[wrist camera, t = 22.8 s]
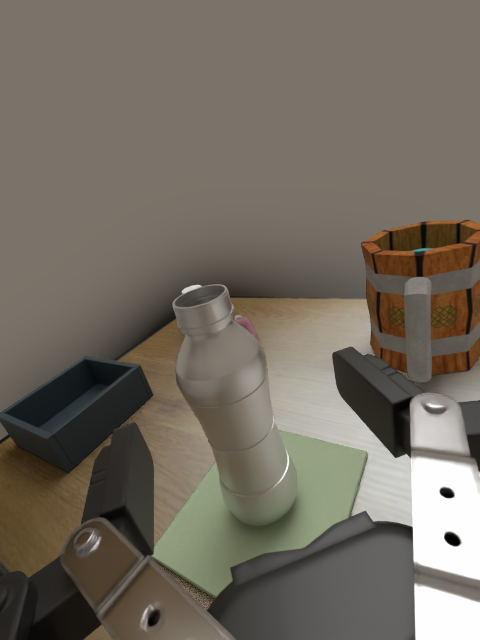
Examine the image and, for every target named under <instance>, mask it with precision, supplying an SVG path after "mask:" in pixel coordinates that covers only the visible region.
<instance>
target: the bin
mask: <svg viewBox="0 0 480 640" xmlns="http://www.w3.org/2000/svg"><path fill="white" fill-rule="evenodd" d="M152 396H153V393H152V391H151V388H150V386H149V384H148V382H147V379H146V377H145V375H144V373H143V370H142V368H141V366H140V365H137V364H131V363H125V362H119V361H113V360H107V359H101V358H95V357H88V356H86V357H84V358H83V359H81V360H80V361H78V362H77V363H75V364H74V365H72V366H70V367H69V368H67V369H66V370H64V371H63V372H61V373H60V374H58V375H57V376H56V377H54V378H52V379H51V380H50V381H48V382H46V383H45V384H43V385H42V386H40V387H39V388H37V389H36V390H34V391H33V392H31V393H30V394H28V395H27V396H25V397H23V398H22V399H20V400H19V401H17V402H16V403H15V404H13V405H11V406H10V407H8V408H7V409H5V410H4V411H2V412H1V413H0V422H1V424H2V425H3V426H4V428H5V429H6V431H7V432H8V434H9V435H10V436H11V438H12V439H13V441H14V442H15V443H16V445H18V446H19V447H21V448H23V449H25V450H27V451H29V452H31V453H33V454H34V455H36V456H38V457H40V458H42V459H44V460H46V461H47V462H49V463H51V464H53V465H55V466H57V467H59V468H61V469H62V470H64V471H66V472H68V473H69V472H70V471H71V470H72V469H73V468H74V467H75V466H77V465H78V464H79V463H80V462H81V461H82V460H83V459H84V458H85V457H86V456H87V455H89V454H90V453H91V452H92V451H93V450H94V449H95V448H96V447H97V446H98V445H99V444H100V443H102V442H103V441H104V440H105V439H106V438H107V437H108V436H109V435H110V434H111V433H112V432H113V430H114V429H116V428H118V427H119V426H120V425H121V424H122V423H123V422H124V421H126V420H127V419H128V418H129V417H130V416H131V415H132V414H133V413H134V412H135V411H136V410H137V409H139V408H140V407H141V406H142V405H143V404H144V403H145V402H146V401H147V400H148V399H149V398H151V397H152Z"/></svg>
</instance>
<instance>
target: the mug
mask: <svg viewBox="0 0 480 640" xmlns="http://www.w3.org/2000/svg"><path fill="white" fill-rule="evenodd" d="M361 246H362V250H363V255H364V259H365V266H366V276H367V277H366V279H367V280H366V299H367V304H368V309H369V313H370V322H371V341H370V344H371V346H372V348H373V350H374V352H375V354H376V356H377V357H378V358H381V359H382V360H384V361H385V362H386V363H388V364H389V365H390V367H393V368H395V369H398V370H401V371H405V372H408V377H409V378H410V379H411V380H412V381H415V382H419V383H421V382H428V381H429V380H430V379H431V375H438V374H445V373H452V372H460V371H467V370H470V369H471V367H472V366H473V365H474V363H475V362H476V361H477V360H478V358H479V357H480V224H479V223H476V222H473V221H470V220H458V221H431V222H421V223H416V224H411V225H407V226H402V227H398V228H394V229H388V230H384V231H381V232H380V233H378V234H376V235H375V236H373V237H371V238H369V239H368V240H366V241H364V242H362V243H361Z"/></svg>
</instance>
